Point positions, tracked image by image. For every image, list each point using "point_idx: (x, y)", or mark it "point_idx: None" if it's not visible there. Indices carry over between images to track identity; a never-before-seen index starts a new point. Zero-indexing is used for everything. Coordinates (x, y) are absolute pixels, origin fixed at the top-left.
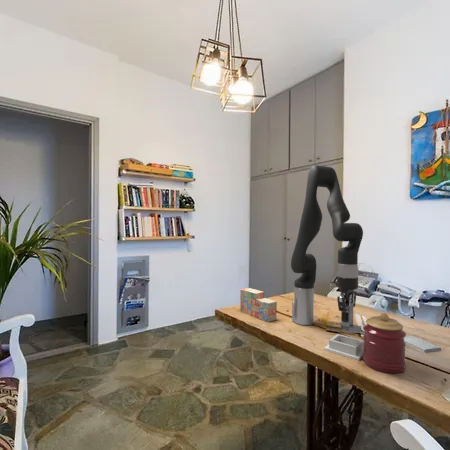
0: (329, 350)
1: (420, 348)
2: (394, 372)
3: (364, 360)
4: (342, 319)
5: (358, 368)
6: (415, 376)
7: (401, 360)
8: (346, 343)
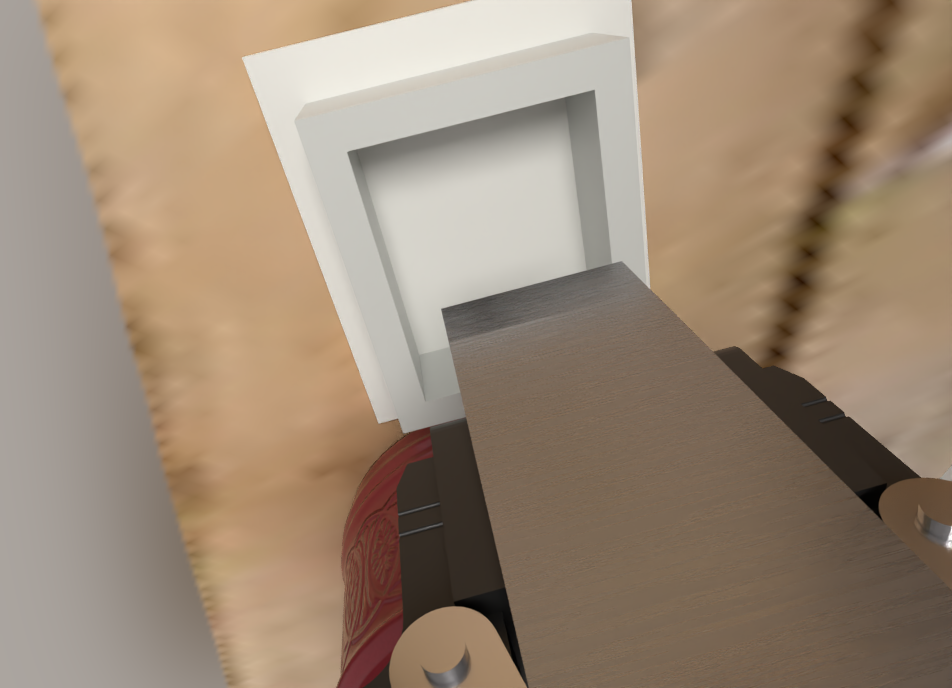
0: (274, 139)
1: None
2: None
3: (378, 467)
4: (403, 491)
5: (251, 480)
6: None
7: None
8: (579, 175)
